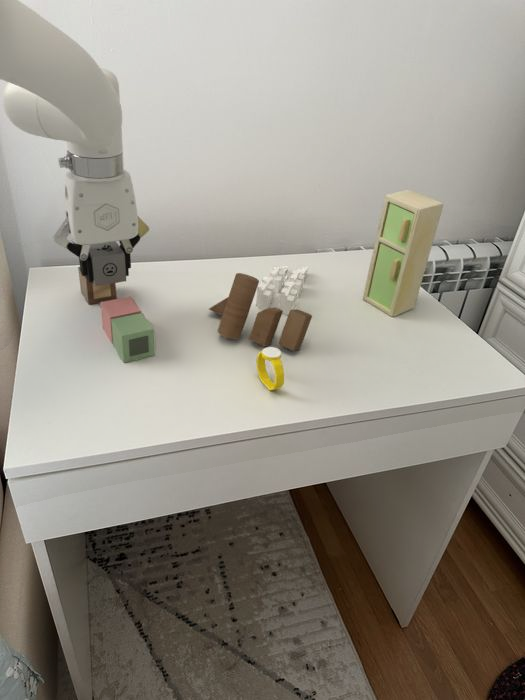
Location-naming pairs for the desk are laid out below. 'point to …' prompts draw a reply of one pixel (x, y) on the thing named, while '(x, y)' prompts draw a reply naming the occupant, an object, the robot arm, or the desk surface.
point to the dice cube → (107, 263)
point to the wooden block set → (258, 317)
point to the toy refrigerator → (401, 251)
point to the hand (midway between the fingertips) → (106, 274)
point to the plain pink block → (116, 312)
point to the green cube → (133, 337)
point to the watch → (274, 357)
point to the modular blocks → (276, 282)
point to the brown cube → (96, 290)
